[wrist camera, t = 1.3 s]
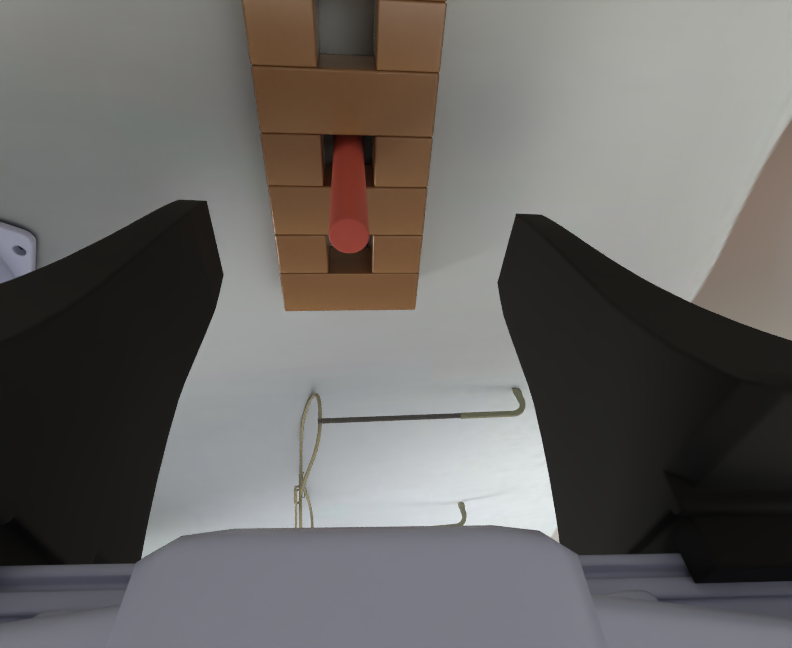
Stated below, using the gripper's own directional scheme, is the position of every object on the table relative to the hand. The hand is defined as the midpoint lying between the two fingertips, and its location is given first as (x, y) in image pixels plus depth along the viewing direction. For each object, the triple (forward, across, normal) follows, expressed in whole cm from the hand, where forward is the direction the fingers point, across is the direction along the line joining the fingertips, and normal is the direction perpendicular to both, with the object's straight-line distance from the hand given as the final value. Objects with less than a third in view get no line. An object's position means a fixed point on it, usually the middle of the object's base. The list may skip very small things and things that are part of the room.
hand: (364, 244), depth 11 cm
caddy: (+10, +1, +1) cm, 10 cm away
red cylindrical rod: (+10, +1, +1) cm, 10 cm away
